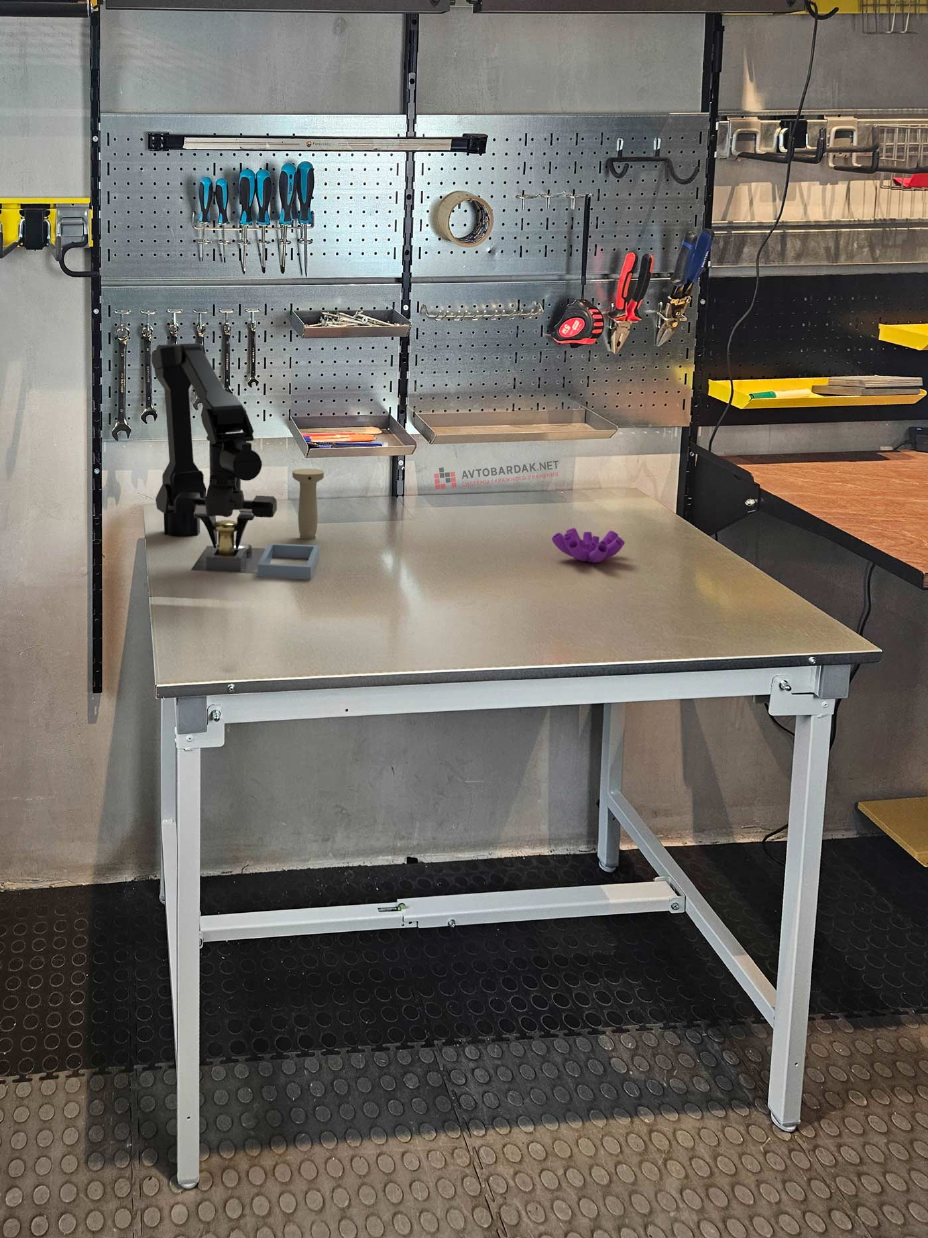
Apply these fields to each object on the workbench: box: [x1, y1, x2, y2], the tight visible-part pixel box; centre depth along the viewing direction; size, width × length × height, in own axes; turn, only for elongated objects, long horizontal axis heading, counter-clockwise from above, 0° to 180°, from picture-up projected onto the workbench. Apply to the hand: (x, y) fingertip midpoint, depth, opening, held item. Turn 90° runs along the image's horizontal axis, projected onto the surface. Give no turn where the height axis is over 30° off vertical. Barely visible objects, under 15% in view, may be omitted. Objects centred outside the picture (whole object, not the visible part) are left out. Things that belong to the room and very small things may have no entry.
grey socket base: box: [190, 540, 266, 574], centre depth 255 cm, size 12×16×4 cm
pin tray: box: [256, 542, 320, 580], centre depth 253 cm, size 10×14×4 cm
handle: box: [291, 468, 325, 540], centre depth 270 cm, size 5×6×15 cm
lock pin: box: [214, 519, 237, 556], centre depth 251 cm, size 4×4×8 cm
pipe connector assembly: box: [551, 527, 626, 563], centre depth 268 cm, size 11×15×10 cm
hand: (226, 547), depth 251 cm, fingers closed on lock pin, 4 cm apart
